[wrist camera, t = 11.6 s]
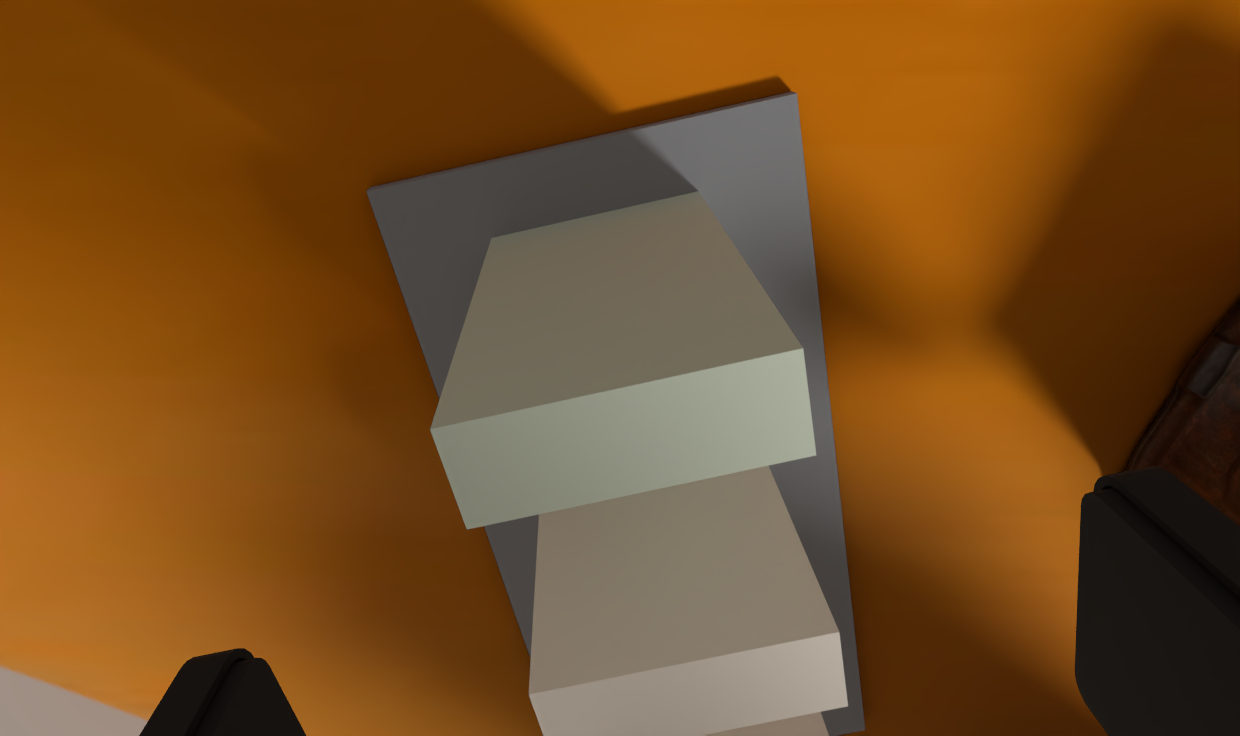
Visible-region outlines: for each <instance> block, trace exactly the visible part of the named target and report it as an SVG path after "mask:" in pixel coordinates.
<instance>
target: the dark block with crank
mask: <svg viewBox="0 0 1240 736" xmlns="http://www.w3.org/2000/svg"><path fill="white" fill-rule="evenodd" d="M1151 466H1157V467H1162V468H1163V469H1165V470H1167V471H1169V472H1170V473H1171V474H1173V475H1174V476H1175V477H1176V478H1178V479H1179V480H1180V481H1182V482H1183V483H1184V484H1185V485H1187V486H1188V487H1189V488H1191V489H1192V490H1193V491H1194V492H1196V493H1197V494H1198V495H1200V496H1201V497H1202V498H1203V499H1205V500H1206V501H1207V502H1208V503H1210V504H1211V505H1212V506H1214V507H1215V508H1216V509H1217V510H1219V511H1220V512H1221V513H1223V514H1224V515H1225V516H1226V517H1228V518H1229V519H1230V520H1232V521H1233V522H1234V523H1235V524H1237V525H1238V526H1239V527H1240V300H1239V301H1238V302H1237V303H1236V305H1235V306H1234V307H1233V308H1232V309H1231V311H1230V312H1229V313H1228V314H1227V316H1226V317H1225V318H1224V319H1223V321H1222V322H1221V323H1220V324H1219V325H1218V327H1217V328H1216V329H1215V330H1214V332H1213V333H1212V334H1211V335H1210V337H1209V338H1208V339H1207V340H1206V342H1205V343H1204V344H1203V345H1202V347H1201V348H1200V349H1199V350H1198V351H1197V353H1196V354H1195V355H1194V357H1193V358H1192V360H1191V361H1190V362H1189V364H1188V365H1187V367H1186V368H1185V370H1184V371H1183V373H1182V374H1181V376H1180V377H1179V379H1178V380H1177V382H1176V384H1175V387H1174V389H1173V392H1172V393H1171V395H1170V396H1169V398H1168V399H1167V401H1166V402H1165V404H1164V405H1163V407H1162V408H1161V410H1160V411H1159V413H1158V414H1157V416H1156V417H1155V419H1154V420H1153V422H1152V423H1151V425H1150V426H1149V428H1148V429H1147V431H1146V432H1145V434H1144V435H1143V437H1142V438H1141V440H1140V441H1139V443H1138V445H1137V447H1136V449H1135V451H1134V453H1133V455H1132V457H1131V459H1130V462H1129V464H1128V466H1127V468H1126V470H1125V472H1126V471H1131V470H1136V469H1141V468H1146V467H1151Z"/></svg>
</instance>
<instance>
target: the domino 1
mask: <svg viewBox="0 0 1240 736" xmlns="http://www.w3.org/2000/svg"><path fill="white" fill-rule="evenodd" d="M430 431H431V434H432V436H433V439H434V442H435V445H436V447H437V450H438V453H439V455H440V458H441V461H442V464H443V466H444V469H445V472H446V475H447V477H448V480H449V483H450V485H451V488H452V491H453V494H454V496H455V499H456V502H457V504H458V507H459V510H460V513H461V515H462V518H463V521H464V524H465V526H466V529H467V530H468V529H472V528H477V527H482V526H486V525H491V524H496V523H500V522H505V521H510V520H515V519H519V518H524V517H529V516H533V515H538V514H543V513H548V512H552V511H557V510H562V509H566V508H571V507H576V506H580V505H585V504H590V503H595V502H599V501H604V500H609V499H613V498H618V497H623V496H627V495H632V494H637V493H642V492H646V491H651V490H656V489H660V488H665V487H670V486H675V485H679V484H684V483H689V482H693V481H698V480H703V479H707V478H712V477H717V476H722V475H726V474H731V473H736V472H740V471H745V470H750V469H755V468H759V467H764V466H769V465H773V464H778V463H783V462H787V461H792V460H797V459H802V458H806V457H811V456H816V448H815V440H814V432H813V424H812V416H811V407H810V399H809V391H808V383H807V375H806V367H805V359H804V351H803V347H802V346H801V344H800V343H799V341H798V340H797V338H796V337H795V335H794V334H793V332H792V331H791V329H790V328H789V326H788V325H787V323H786V322H785V320H784V319H783V317H782V316H781V314H780V313H779V311H778V310H777V308H776V307H775V305H774V304H773V302H772V301H771V299H770V298H769V296H768V295H767V293H766V292H765V290H764V289H763V287H762V286H761V284H760V283H759V281H758V280H757V278H756V277H755V275H754V274H753V272H752V271H751V269H750V268H749V266H748V265H747V263H746V262H745V260H744V259H743V257H742V256H741V254H740V253H739V251H738V250H737V248H736V247H735V245H734V244H733V242H732V241H731V239H730V238H729V236H728V235H727V233H726V232H725V230H724V229H723V227H722V226H721V224H720V223H719V221H718V220H717V218H716V217H715V215H714V214H713V212H712V211H711V209H710V208H709V206H708V205H707V203H706V202H705V200H704V199H703V197H702V196H701V194H700V193H699V191H697V192H693V193H688V194H684V195H679V196H675V197H671V198H666V199H662V200H657V201H653V202H648V203H644V204H640V205H635V206H631V207H626V208H622V209H618V210H613V211H609V212H604V213H600V214H595V215H591V216H587V217H582V218H578V219H573V220H569V221H565V222H560V223H556V224H551V225H547V226H542V227H538V228H534V229H529V230H525V231H520V232H516V233H511V234H507V235H503V236H498V237H494V238H491V241H490V244H489V247H488V250H487V253H486V257H485V260H484V263H483V266H482V269H481V272H480V275H479V278H478V281H477V285H476V288H475V291H474V294H473V297H472V300H471V303H470V306H469V309H468V313H467V316H466V319H465V322H464V325H463V328H462V331H461V334H460V337H459V341H458V344H457V347H456V350H455V353H454V356H453V359H452V362H451V366H450V369H449V372H448V375H447V378H446V381H445V384H444V387H443V390H442V394H441V397H440V400H439V403H438V406H437V409H436V412H435V415H434V418H433V422H432V425H431V428H430Z"/></svg>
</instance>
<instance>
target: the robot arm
mask: <svg viewBox="0 0 1240 736" xmlns="http://www.w3.org/2000/svg"><path fill="white" fill-rule="evenodd" d="M1075 677H1076V681H1077V685H1078V688H1079V691H1080V693H1081V695H1082V697H1083V699H1084V701H1085V703H1086V705H1087V706H1088V708H1089V709H1090V711H1091V712H1092V713H1093V715H1094V716H1095V717H1096V719H1097V720H1098V722H1099V723H1100V724H1101V726H1102V727H1103V728H1104V730H1105V731H1106V733H1107V734H1108V735H1109V736H1240V527H1239V526H1238V525H1237V524H1235V523H1234V522H1233V521H1232V520H1230V519H1229V518H1228V517H1226V516H1225V515H1224V514H1223V513H1221V512H1220V511H1219V510H1217V509H1216V508H1215V507H1214V506H1212V505H1211V504H1210V503H1208V502H1207V501H1206V500H1205V499H1203V498H1202V497H1201V496H1200V495H1198V494H1197V493H1196V492H1194V491H1193V490H1192V489H1191V488H1189V487H1188V486H1187V485H1185V484H1184V483H1183V482H1182V481H1180V480H1179V479H1178V478H1176V477H1175V476H1174V475H1173V474H1171V473H1170V472H1169V471H1167V470H1165V469H1163V468H1162V467H1157V466H1151V467H1146V468H1141V469H1136V470H1131V471H1126V472H1121V473H1116V474H1111V475H1106V476H1103V477H1100V478H1098V480H1097V482H1096V483H1095V486H1094V492H1090V493H1087V494H1085V495H1084V497H1083V498H1082V503H1081V521H1080V547H1079V574H1078V600H1077V627H1076V654H1075ZM139 736H306V734H305V732H304V730H303V729H302V727H301V725H300V723H299V721H298V719H297V717H296V715H295V713H294V711H293V710H292V708H291V706H290V704H289V702H288V700H287V698H286V696H285V694H284V693H283V691H282V689H281V687H280V685H279V683H278V681H277V679H276V677H275V676H274V674H273V672H272V670H271V668H270V666H269V665H268V663H267V662H266V661H265V660H264V659H262V658H254V657H253V655H252V654H251V653H250V652H249V651H247V650H246V649H239V648H238V649H233V650H228V651H223V652H218V653H213V654H208V655H203V656H198V657H193V658H191V659H190V660H188V661H186V663H185V664H184V665H183V666H182V667H181V669H180V670H179V672H178V673H177V675H176V677H175V678H174V680H173V682H172V683H171V685H170V687H169V688H168V690H167V691H166V693H165V695H164V696H163V698H162V700H161V701H160V703H159V704H158V706H157V708H156V709H155V711H154V713H153V714H152V716H151V717H150V719H149V721H148V722H147V724H146V726H145V727H144V729H143V731H142V732H141V734H140V735H139Z"/></svg>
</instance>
